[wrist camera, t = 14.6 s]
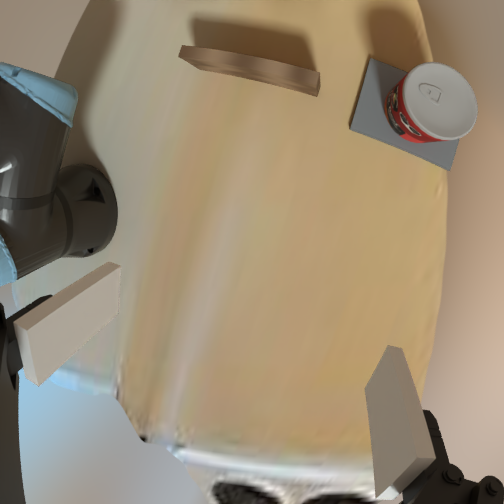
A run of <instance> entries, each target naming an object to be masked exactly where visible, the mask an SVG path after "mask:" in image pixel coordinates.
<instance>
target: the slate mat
mask: <svg viewBox="0 0 504 504" xmlns="http://www.w3.org/2000/svg"><path fill="white" fill-rule="evenodd" d="M407 73H408V72H405V71H403V70H401V69H398V68H396V67H393V66H390V65H388V64H385V63H383V62H380V61H377V60H375V59H372V58H370V61H369V64H368V68H367V72H366V75H365V79H364V82H363V86H362V89H361V93H360V96H359V100H358V103H357V107H356V110H355V113H354V117H353V120H352V123H351V127H350V130H352V131H355V132H358V133H360V134H363V135H366V136H369V137H371V138H374V139H376V140H379V141H381V142H384V143H387V144H389V145H391V146H394V147H396V148H399V149H401V150H404V151H406V152H408V153H411V154H413V155H415V156H417V157H420V158H422V159H424V160H426V161H429V162H431V163H433V164H435V165H437V166H439V167H441V168H444V169H446V170H448V171H450V169H451V166H452V163H453V160H454V156H455V152H456V149H457V146H458V142H459V138H458V139H455V140H449V141H440V142H428V143H414V142H410V141H408V140H405V139H403V138H402V137H400V136H399V135H398V134H397V133H396V132H395V131H394V130H393V129H392V128H391V126H390V125H389V123H388V121H387V118H386V115H385V110H384V106H385V100H386V97H387V95H388V93H389V92H390V90H391V89H392V88H393V87H394V86H395V85H396V84H397V83H398V82H399V81H400V80H401V79H402V78H403V77H404V76H405V75H406V74H407Z"/></svg>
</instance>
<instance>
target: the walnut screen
mask: <svg viewBox="0 0 504 504" xmlns="http://www.w3.org/2000/svg"><path fill="white" fill-rule="evenodd" d="M178 57H180V58H182V59H183V60H185V61H187V62H188V63H190V64H192V65H193V66H195V67H196V68H198V69H200V70H205V71H211V72H217V73H222V74H227V75H232V76H237V77H242V78H247V79H251V80H256V81H260V82H264V83H268V84H272V85H276V86H280V87H284V88H288V89H292V90H295V91H299V92H302V93H306V94H309V95H313V96H316V97H317V96H318V93H319V89H320V72H316V71H313V70H309V69H305V68H302V67H298V66H294V65H290V64H286V63H282V62H278V61H273V60H269V59H264V58H260V57H255V56H250V55H245V54H239V53H234V52H228V51H222V50H215V49H209V48H201V47H193V46H185V45H182V47H181V50H180V53H179V56H178Z"/></svg>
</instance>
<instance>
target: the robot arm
mask: <svg viewBox="0 0 504 504" xmlns="http://www.w3.org/2000/svg"><path fill="white" fill-rule="evenodd" d="M77 102H78V93H77V91H76V89H75V88H74V87H73V86H72V85H70V84H68V83H65V82H62V81H59V80H56V79H54V78H51V77H48V76H45V75H42V74H39V73H36V72H33V71H29V70H26V69H23V68H20V67H16V66H14V65H11V64H7V63H4V62H0V286H3V285H5V284H7V283H13V282H15V281H16V280H18V279H20V278H21V277H23V276H25V275H27V274H29V273H31V272H33V271H35V270H37V269H39V268H41V267H43V266H45V265H47V264H49V263H50V262H52V261H54V260H56V259H59V258H61V257H78V258H82V257H88V256H91V255H93V254H95V253H98V252H100V251H101V250H103V249H104V248H105V247H106V246H107V245H108V244H109V243H110V241H111V239H112V237H113V235H114V233H115V229H116V225H117V204H116V199H115V195H114V192H113V190H112V188H111V186H110V184H109V182H108V180H107V179H106V178H105V176H104V175H103V174H102V173H101V172H100V171H99V170H97V169H96V168H94V167H92V166H89V165H85V164H78V165H70V166H67V167H64V168H62V169H61V170H60V166H61V162H62V158H63V154H64V151H65V147H66V143H67V140H68V136H69V133H70V129H71V128H72V127H73V122H72V121H73V117H74V113H75V109H76V106H77ZM120 278H121V266H120V265H117V264H114V263H111V262H107V263H106V264H104V265H102V266H101V267H99V268H97V269H96V270H94V271H92V272H91V273H89V274H87V275H86V276H84V277H82V278H81V279H79V280H78V281H76V282H74V283H73V284H71V285H70V286H68V287H66V288H65V289H63V290H62V291H60V292H58V293H57V294H55V295H54V296H52V295H47V296H43V297H40V298H38V299H37V300H35V301H34V302H32V304H29V305H27V306H26V307H25V308H23V309H21V310H19V311H18V312H17V313H15V314H13V315H12V316H10V317H9V318H7V319H6V318H5V313H4V306H3V305H2V304H1V303H0V504H26V502H25V496H24V489H23V482H22V473H21V462H20V448H19V428H18V427H19V425H18V394H19V393H18V392H19V375H18V371H19V370H20V369H21V368H23V369H24V373H25V377H26V378H27V379H28V380H30V381H31V382H33V383H34V384H36V385H37V386H40V385H41V384H42V383H43V382H44V381H45V380H46V379H48V378H49V377H50V376H51V375H52V374H53V373H54V372H55V371H56V370H57V369H58V368H59V367H60V366H61V365H62V364H64V363H65V362H66V361H67V360H68V359H69V358H70V357H71V356H72V355H73V354H74V353H75V352H77V351H78V350H79V349H80V348H81V347H82V346H83V345H84V344H85V343H86V342H88V341H89V340H90V339H91V338H92V337H93V336H94V335H95V334H96V333H97V332H99V331H100V330H101V329H102V328H103V327H104V326H105V325H106V324H108V323H109V322H110V321H111V320H112V319H113V318H114V317H115V316H117V315H118V314H119V297H120ZM365 395H366V402H367V410H368V418H369V427H370V436H371V445H372V456H373V467H374V480H375V495H376V499H385V500H386V499H387V500H393V499H395V498H396V497H397V496H398V495H399V494H400V493H401V492H402V494H403V501H401V502H400V503H399V504H503V502H504V487H503V484H502V483H501V481H500V480H499V479H497V478H496V477H494V476H486V477H484V478H483V479H482V480H481V481H480V482H479V483H476V482H473V481H470V480H466V479H464V475H463V473H462V471H461V470H460V469H459V468H458V467H457V466H455V465H453V464H450V463H449V459H448V456H447V453H446V449H445V446H444V442H443V439H442V438H441V437H442V436H441V433H440V431H439V426H438V423H437V420H436V418H435V417H434V416H433V414H432V413H431V412H430V411H428V410H422V407H421V404H420V400H419V397H418V394H417V391H416V388H415V385H414V382H413V379H412V376H411V373H410V370H409V367H408V364H407V361H406V358H405V356H404V353H403V350H402V348H398V347H394V346H390V345H388V346H387V348H386V350H385V352H384V354H383V356H382V358H381V360H380V361H379V363H378V365H377V367H376V369H375V371H374V373H373V374H372V376H371V378H370V380H369V382H368V383H367V385H366V387H365Z"/></svg>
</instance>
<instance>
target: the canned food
mask: <svg viewBox="0 0 504 504" xmlns="http://www.w3.org/2000/svg"><path fill="white" fill-rule="evenodd" d="M384 110H385V115H386V118H387V121H388V123H389V125H390V126H391V128H392V129H393V130H394V131H395V132H396V133H397V134H398V135H399V136H400V137H402V138H403V139H405V140H408V141H410V142H414V143H428V142H440V141H449V140H455V139H458V138H460V137H463V136H465V135H466V134H467V133H469V132H470V130H471V129H472V128H473V126H474V124H475V122H476V119H477V111H478V109H477V100H476V97H475V94H474V92H473V90H472V88H471V86H470V84H469V83H468V82H467V80H466V79H465V78H464V77H463V76H462V75H461V74H460V73H459V72H458V71H456V70H455V69H453V68H452V67H450V66H448V65H445V64H442V63H437V62H427V63H423V64H420V65H418V66H416V67H415V68H413V69H412V70H411V71H409V72H408V73H407V74H406V75H405V76H404V77H403V78H402V79H401V80H400V81H399V82H398V83H397V84H396V85H395V86H394V87H393V88H392V89H391V90H390V92H389V93H388V95H387V97H386V100H385V106H384Z"/></svg>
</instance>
